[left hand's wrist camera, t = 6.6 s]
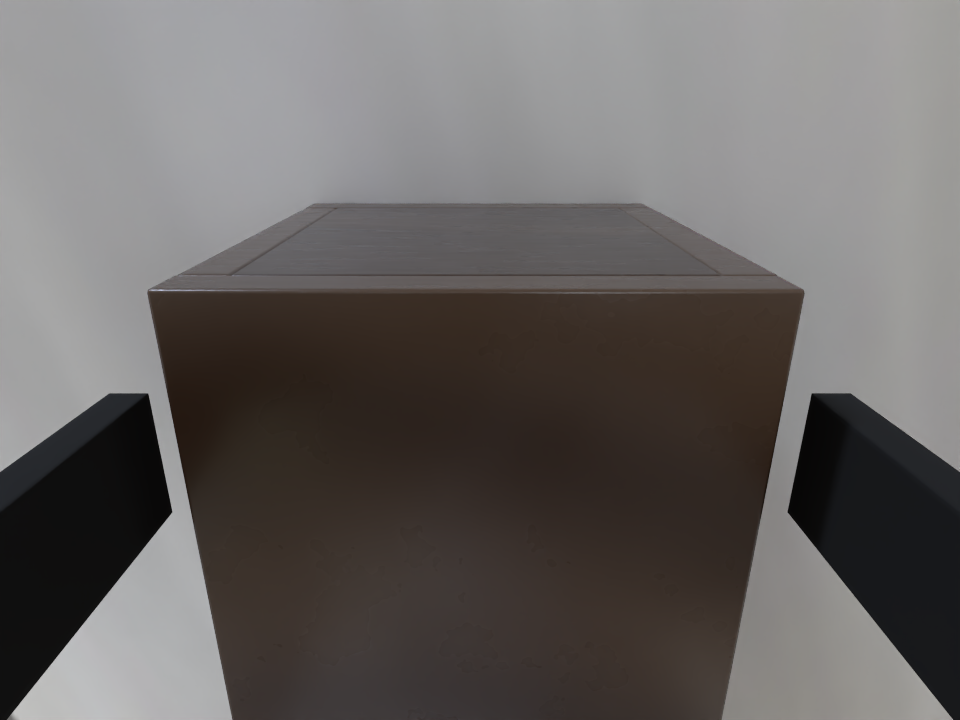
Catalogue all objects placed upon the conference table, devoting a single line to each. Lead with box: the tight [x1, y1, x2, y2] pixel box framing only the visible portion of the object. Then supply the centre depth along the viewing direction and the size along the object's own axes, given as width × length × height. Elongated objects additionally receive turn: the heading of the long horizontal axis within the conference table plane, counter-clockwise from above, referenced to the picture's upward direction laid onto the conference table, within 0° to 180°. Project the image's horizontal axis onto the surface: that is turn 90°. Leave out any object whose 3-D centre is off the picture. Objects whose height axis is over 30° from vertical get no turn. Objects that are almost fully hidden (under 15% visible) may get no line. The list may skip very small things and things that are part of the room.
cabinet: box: [148, 204, 804, 720], centre depth 18 cm, size 19×10×10 cm, turn 0°
